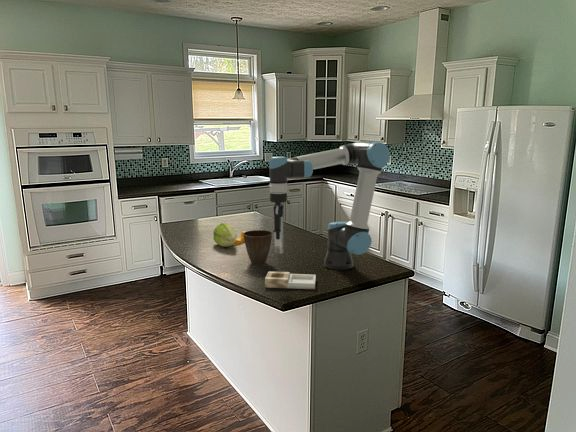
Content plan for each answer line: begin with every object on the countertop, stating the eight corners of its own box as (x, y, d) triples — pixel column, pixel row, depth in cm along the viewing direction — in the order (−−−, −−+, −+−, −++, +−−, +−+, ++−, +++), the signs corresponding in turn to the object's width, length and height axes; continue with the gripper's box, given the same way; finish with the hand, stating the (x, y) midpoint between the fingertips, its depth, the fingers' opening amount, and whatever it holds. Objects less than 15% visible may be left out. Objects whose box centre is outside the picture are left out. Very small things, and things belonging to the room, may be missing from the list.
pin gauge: (283, 251, 192) (283, 216, 189) (282, 253, 188) (282, 218, 185) (274, 250, 193) (274, 216, 189) (273, 253, 189) (273, 218, 186)
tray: (315, 279, 199) (315, 274, 198) (314, 289, 187) (314, 283, 186) (290, 278, 200) (290, 273, 199) (287, 288, 188) (287, 282, 188)
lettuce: (223, 254, 241) (220, 230, 237) (211, 244, 260) (209, 223, 257) (244, 249, 246) (242, 226, 243) (231, 240, 265) (229, 219, 262)
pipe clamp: (233, 246, 256) (232, 235, 255) (228, 244, 259) (228, 234, 258) (248, 242, 265) (248, 232, 263) (244, 241, 268) (244, 231, 266)
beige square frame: (289, 280, 198) (289, 272, 197) (287, 288, 188) (287, 279, 187) (268, 279, 199) (268, 271, 198) (265, 287, 189) (264, 278, 188)
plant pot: (238, 264, 222) (237, 234, 218) (255, 257, 234) (254, 228, 231) (261, 268, 214) (261, 238, 211) (277, 261, 226) (277, 232, 223)
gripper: (272, 189, 194) (273, 239, 198) (266, 195, 177) (267, 249, 182) (289, 189, 193) (289, 239, 198) (284, 195, 176) (285, 250, 181)
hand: (278, 244), depth 190 cm, fingers closed on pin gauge, 4 cm apart
